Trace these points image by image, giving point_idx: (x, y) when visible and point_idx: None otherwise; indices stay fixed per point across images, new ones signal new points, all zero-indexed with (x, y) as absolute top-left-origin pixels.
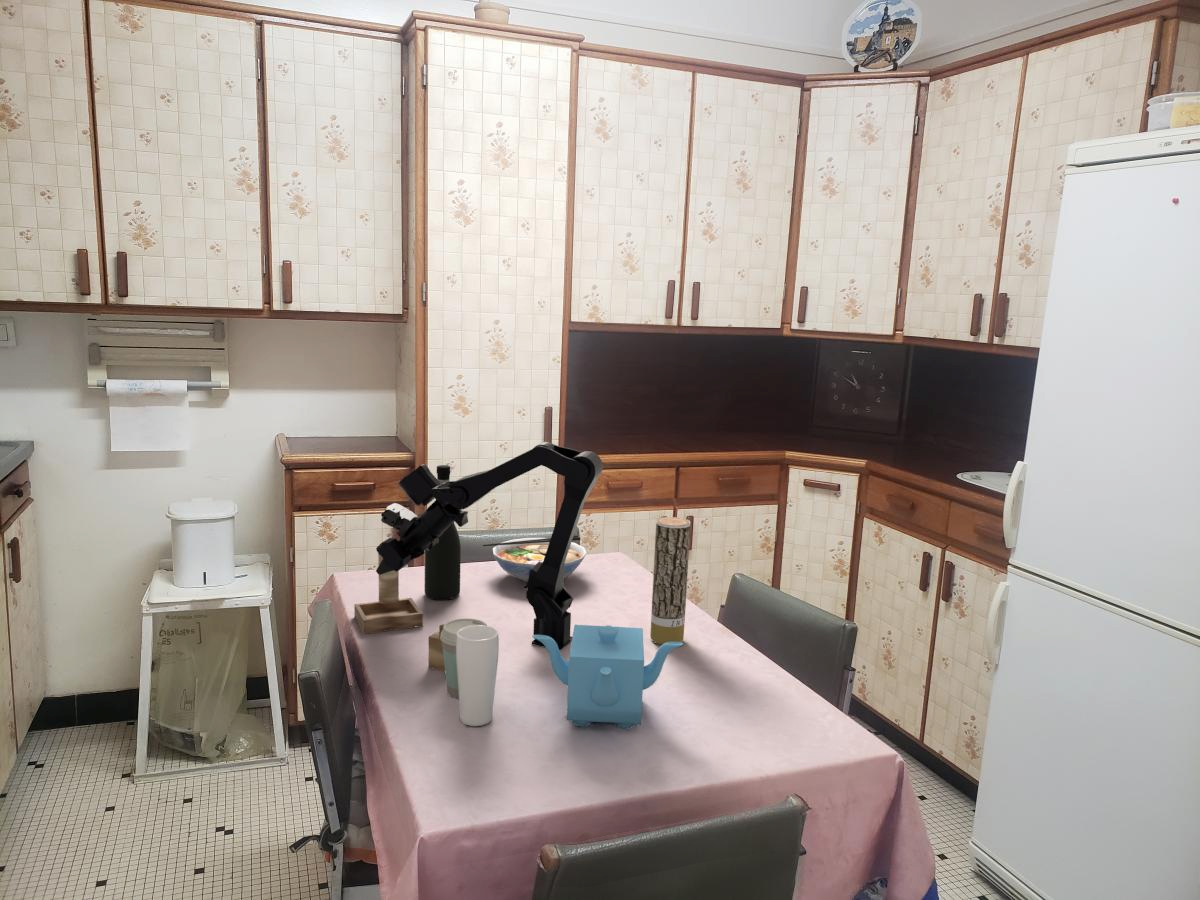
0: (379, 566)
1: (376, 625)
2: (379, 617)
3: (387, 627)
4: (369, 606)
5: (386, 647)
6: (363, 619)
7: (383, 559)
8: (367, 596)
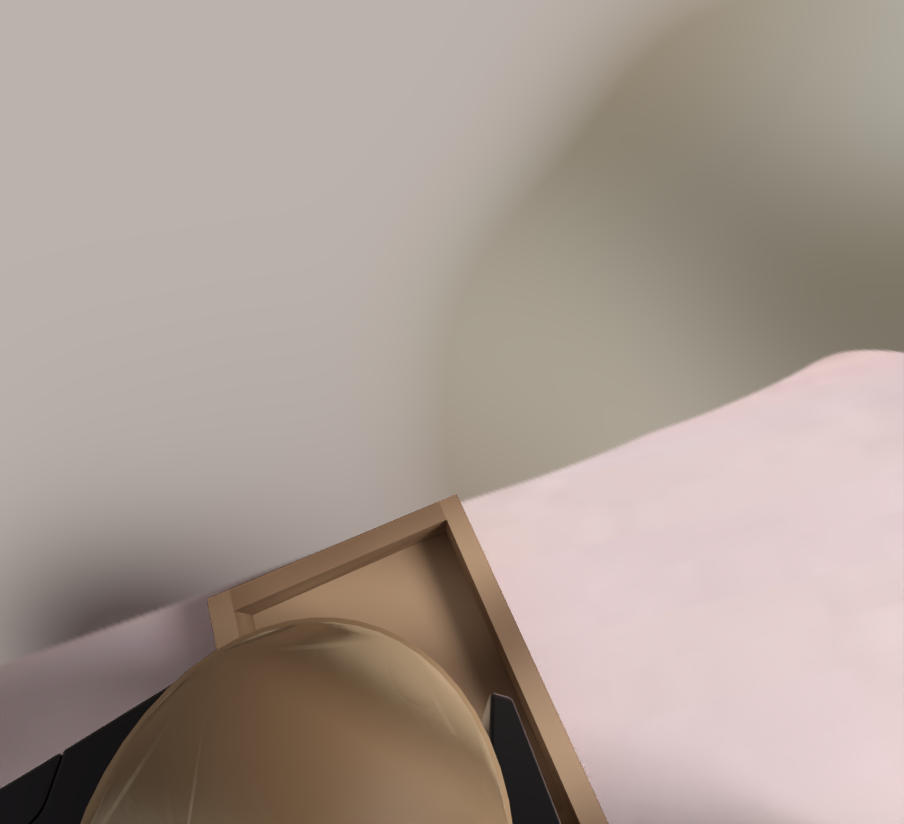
0: None
1: None
2: None
3: None
4: (467, 573)
5: None
6: (222, 594)
7: (4, 797)
8: (720, 510)
